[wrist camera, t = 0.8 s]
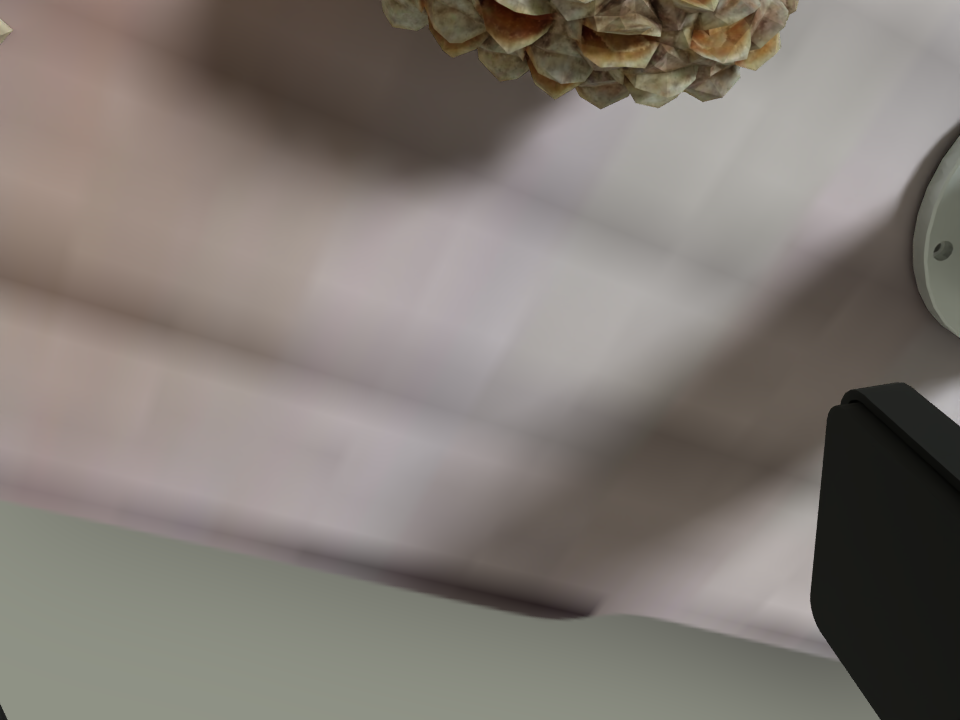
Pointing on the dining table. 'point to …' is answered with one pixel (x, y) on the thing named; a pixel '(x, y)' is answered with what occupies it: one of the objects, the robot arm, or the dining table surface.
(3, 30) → the box
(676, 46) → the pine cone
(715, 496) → the dining table surface
